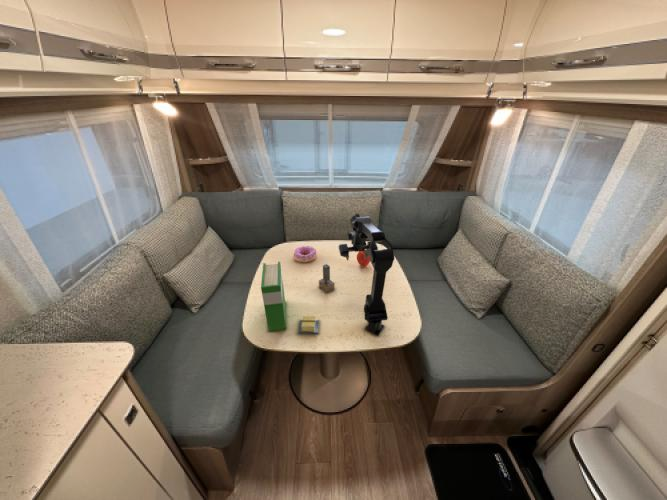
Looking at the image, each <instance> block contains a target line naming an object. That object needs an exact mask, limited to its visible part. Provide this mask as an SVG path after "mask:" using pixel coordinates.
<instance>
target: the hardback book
mask: <svg viewBox="0 0 667 500" xmlns="http://www.w3.org/2000/svg"><path fill="white" fill-rule="evenodd" d="M260 290H261V295H262V302H263V307H264V312H265V317H266V324H267V329H268V332H274V331H280V330H287V319H286V318H287V317H286V316H287V315H286V314H287V313H286V311H287V310H286V297H285V289H284V281H283V273H282V265H281V261H277V263H273V264H266V262H263V263H262V272H261V284H260Z"/></svg>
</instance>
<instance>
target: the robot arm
mask: <svg viewBox="0 0 667 500" xmlns="http://www.w3.org/2000/svg"><path fill="white" fill-rule="evenodd" d="M349 222H350V226H351V228H352V231H353V232H351V231H350V232H347V234H346V237H347V238H346V239H347V240H348V241H351V245H352V246H348V243H340V244H339V245H338V251H339V256H340V257H343V258H345V259H346V261H347V262H348V261H349V260H350V253H352V252H354V253H358V252H359V251H365V250H366V252H365V255H364V259H366V258H367V257H370V264H371V266H372V268H373V275H372V280H371V281H372V282H371V288H370V294H366V296H365V303H364V305H363V314H364V321H366V322H367V325H366V326H365V327H364V330H365V331H366V332H369V333H371V334H373V335H375V336H379V335H380V334H381V332H382V331H383V329H385V325H384V324H383V321H388V317H389V316H388V312H387V308H386V303H385V301H384V299H383V295H384V291H385V290H384V289H385V284H386V277H387V273H388V272H389V270H390V269H391V268H392V267H393V264H394V261H395V252H394V249H393V245H392V244H391V243H390V241H389V240H388V239H387V238H386V235H385V232H384V231H382V230H380V229H379V228H377V227H376V226H375V225H374V223H373V220H372V218H371V217H370V216H361V215H360V213H355V214H354V215H353V216H352V217H351V218H349ZM367 239H369V241H367ZM377 243H381V244H382V245H383V246H384V247H385V248H382V249H379V247H378V244H377Z"/></svg>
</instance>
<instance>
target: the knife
mask: <svg viewBox="0 0 667 500" xmlns="http://www.w3.org/2000/svg"><path fill="white" fill-rule="evenodd" d="M322 279H324V280H325V282H326V283H328V284H329V281H328V280H331V266H330V265H329V264H327V263H325V264H323V265H322Z"/></svg>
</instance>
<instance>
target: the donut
mask: <svg viewBox="0 0 667 500" xmlns="http://www.w3.org/2000/svg"><path fill="white" fill-rule="evenodd" d="M293 258H294V260H295V261H297V262H299V263H309V262H313V261H314V260H316V258H317V250H316V248H315V247H313V246H311V245H310V246H309V245H304V246H300V247H297V248H295V249H294V252H293Z"/></svg>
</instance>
